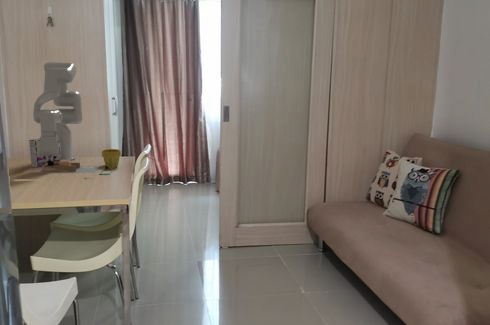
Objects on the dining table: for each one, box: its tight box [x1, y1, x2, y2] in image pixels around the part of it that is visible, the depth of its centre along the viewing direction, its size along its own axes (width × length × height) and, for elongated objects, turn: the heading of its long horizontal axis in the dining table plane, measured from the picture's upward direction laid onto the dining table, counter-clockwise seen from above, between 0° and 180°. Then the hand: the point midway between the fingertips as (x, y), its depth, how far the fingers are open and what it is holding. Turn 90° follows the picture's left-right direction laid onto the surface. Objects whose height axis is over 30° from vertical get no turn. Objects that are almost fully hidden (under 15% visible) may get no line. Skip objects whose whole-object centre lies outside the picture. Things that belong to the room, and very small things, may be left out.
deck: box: [37, 165, 101, 174], centre depth 240 cm, size 18×29×1 cm, turn 98°
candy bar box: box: [28, 137, 51, 168], centre depth 249 cm, size 11×5×16 cm, turn 161°
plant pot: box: [101, 148, 122, 169], centre depth 253 cm, size 10×10×10 cm
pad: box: [98, 170, 112, 176], centre depth 237 cm, size 7×7×1 cm
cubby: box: [41, 162, 81, 172], centre depth 238 cm, size 10×17×3 cm, turn 98°
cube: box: [58, 160, 72, 166], centre depth 238 cm, size 5×5×5 cm
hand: (51, 167), depth 237 cm, fingers closed
